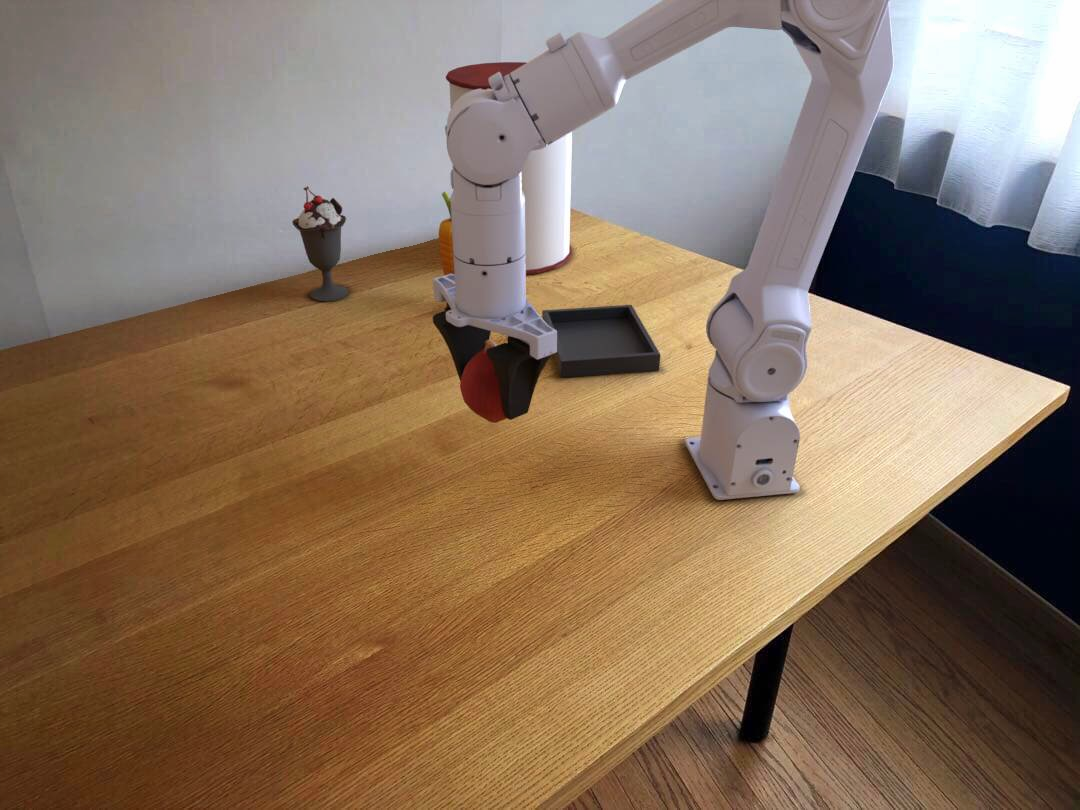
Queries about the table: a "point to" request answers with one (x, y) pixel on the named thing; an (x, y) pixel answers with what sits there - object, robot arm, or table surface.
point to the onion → (482, 386)
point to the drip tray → (601, 341)
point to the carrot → (446, 241)
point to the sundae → (322, 242)
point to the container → (533, 179)
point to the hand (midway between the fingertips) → (494, 399)
